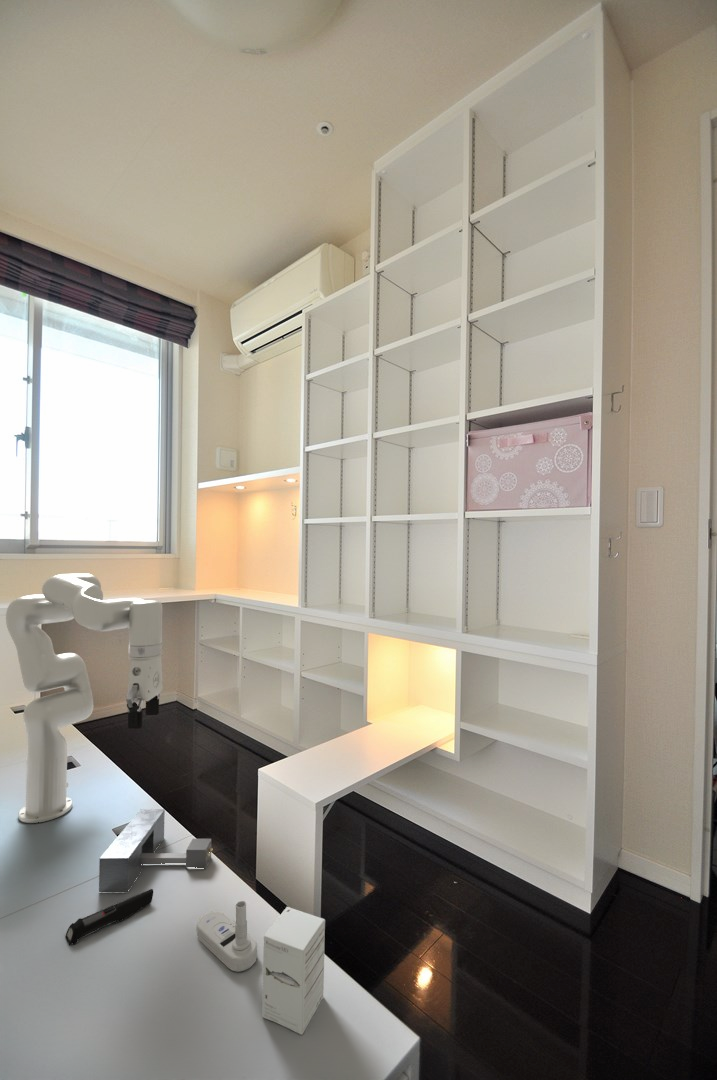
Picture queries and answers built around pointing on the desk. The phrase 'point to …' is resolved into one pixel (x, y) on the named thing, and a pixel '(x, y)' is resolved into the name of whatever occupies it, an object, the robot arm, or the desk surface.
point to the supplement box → (293, 969)
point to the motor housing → (130, 850)
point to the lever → (184, 855)
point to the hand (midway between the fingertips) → (144, 721)
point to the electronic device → (228, 938)
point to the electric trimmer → (107, 916)
